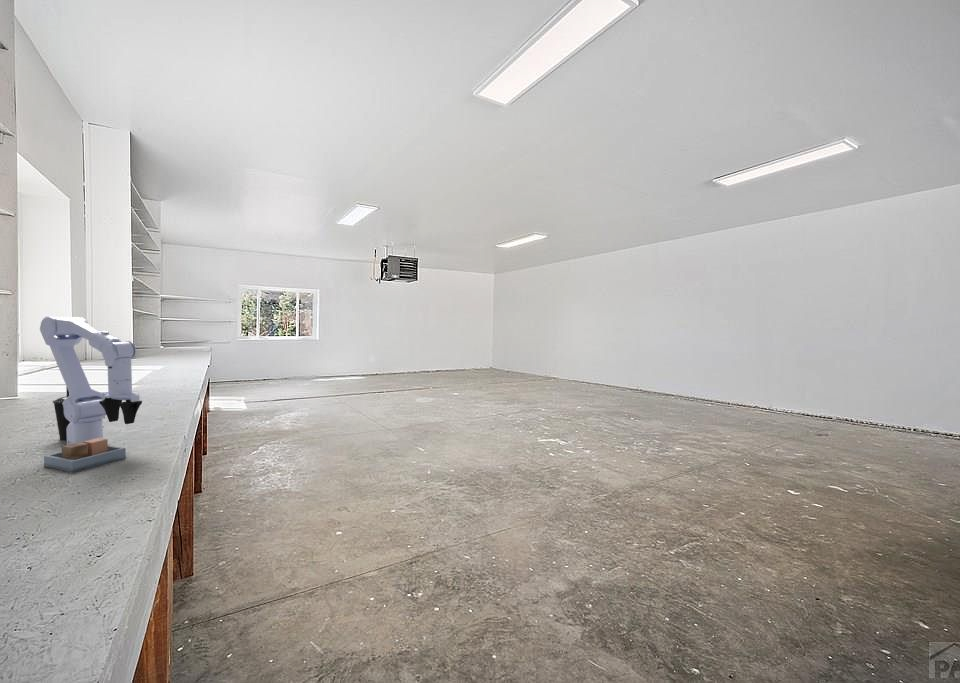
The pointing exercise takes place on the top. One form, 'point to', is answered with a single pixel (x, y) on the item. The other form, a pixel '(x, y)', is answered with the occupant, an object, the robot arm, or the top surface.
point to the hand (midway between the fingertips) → (121, 422)
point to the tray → (84, 460)
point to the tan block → (75, 451)
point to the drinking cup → (61, 416)
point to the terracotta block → (97, 446)
